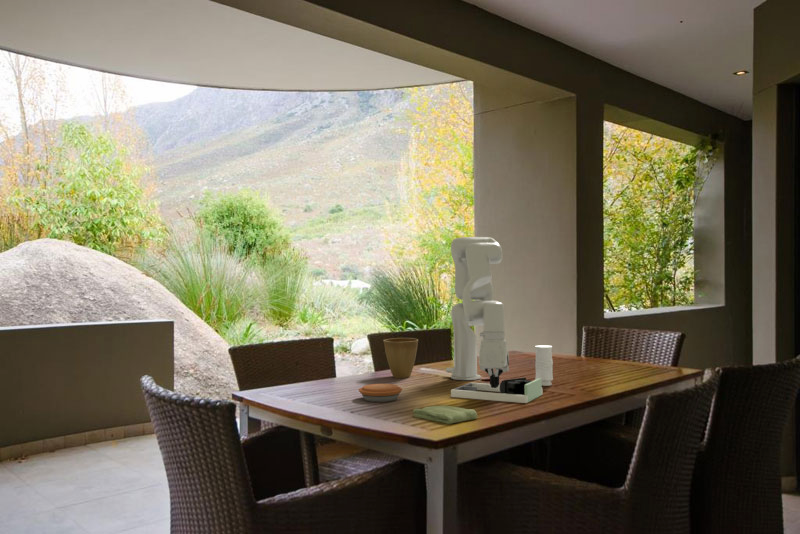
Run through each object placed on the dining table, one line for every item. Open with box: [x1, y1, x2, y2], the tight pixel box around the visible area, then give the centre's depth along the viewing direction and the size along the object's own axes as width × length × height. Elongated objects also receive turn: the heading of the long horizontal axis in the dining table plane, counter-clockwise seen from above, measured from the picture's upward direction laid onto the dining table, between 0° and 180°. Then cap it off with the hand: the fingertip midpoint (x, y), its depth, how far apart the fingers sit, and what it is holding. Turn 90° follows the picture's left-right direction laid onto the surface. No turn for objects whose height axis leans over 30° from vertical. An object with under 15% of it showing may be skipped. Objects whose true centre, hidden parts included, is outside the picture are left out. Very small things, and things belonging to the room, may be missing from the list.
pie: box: [358, 383, 403, 403], centre depth 239 cm, size 15×16×5 cm
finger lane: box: [450, 378, 544, 404], centre depth 242 cm, size 28×18×6 cm, turn 61°
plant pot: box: [383, 337, 419, 379], centre depth 290 cm, size 15×15×16 cm
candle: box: [534, 344, 554, 387], centre depth 265 cm, size 7×7×15 cm
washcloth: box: [412, 405, 478, 425], centre depth 207 cm, size 13×18×3 cm
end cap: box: [499, 377, 533, 395], centre depth 238 cm, size 10×7×7 cm
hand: (494, 387), depth 243 cm, fingers closed
